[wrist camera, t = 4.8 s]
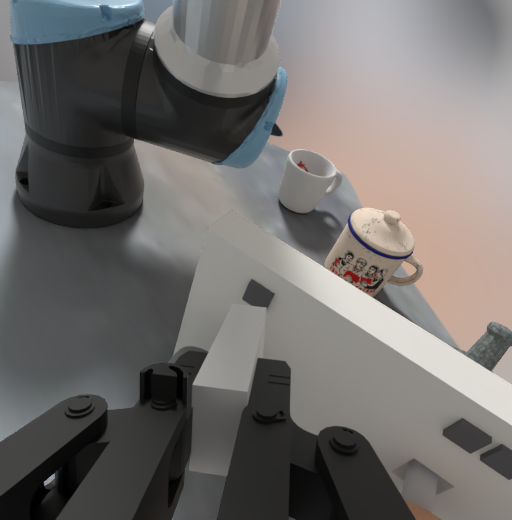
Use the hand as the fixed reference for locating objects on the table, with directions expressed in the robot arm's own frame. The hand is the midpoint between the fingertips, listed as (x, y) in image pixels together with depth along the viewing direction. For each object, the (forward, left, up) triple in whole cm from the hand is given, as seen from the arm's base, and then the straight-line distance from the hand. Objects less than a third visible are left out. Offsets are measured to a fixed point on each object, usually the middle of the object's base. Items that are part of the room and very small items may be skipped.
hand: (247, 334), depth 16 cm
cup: (+10, +44, -21) cm, 50 cm away
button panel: (+10, +6, -20) cm, 24 cm away
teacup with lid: (+19, +29, -21) cm, 40 cm away
